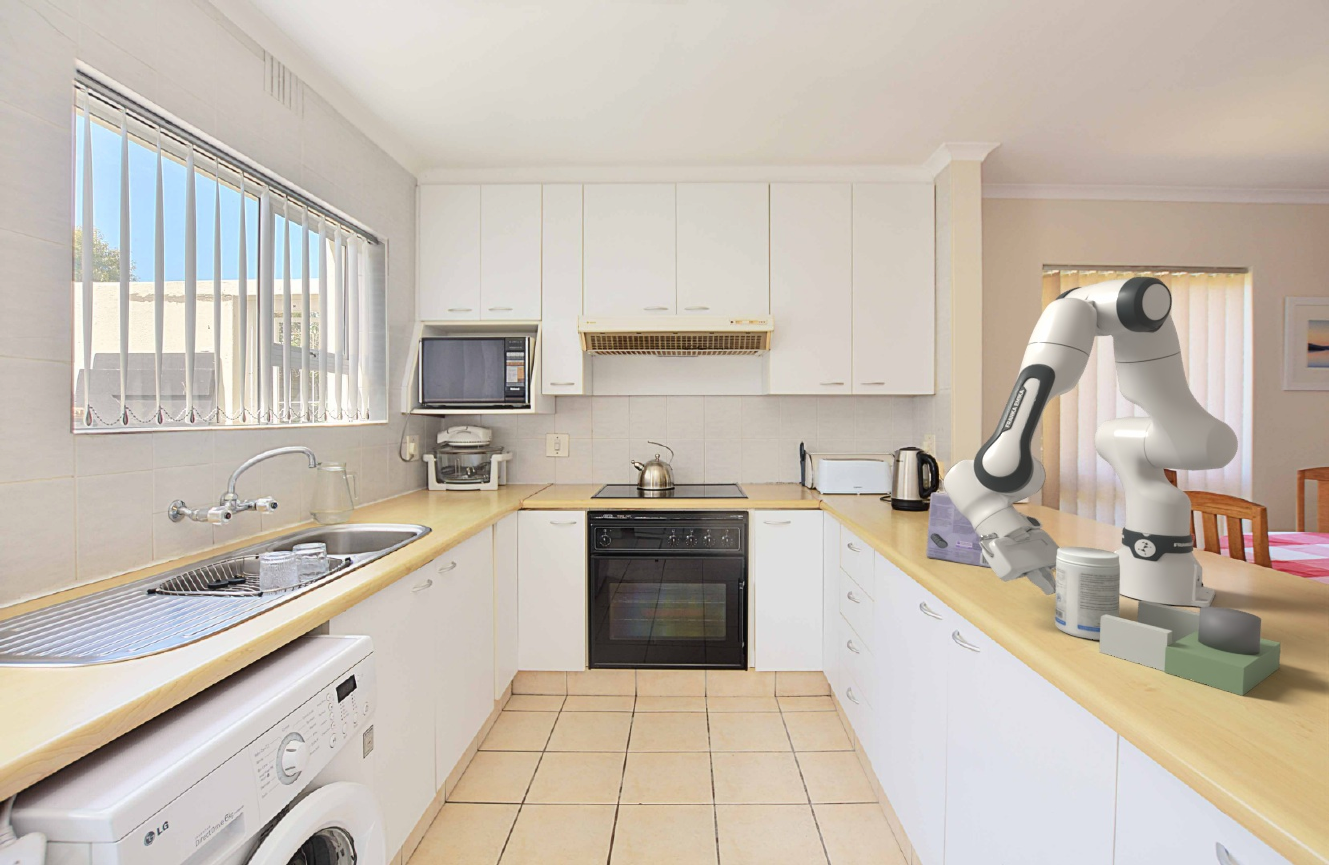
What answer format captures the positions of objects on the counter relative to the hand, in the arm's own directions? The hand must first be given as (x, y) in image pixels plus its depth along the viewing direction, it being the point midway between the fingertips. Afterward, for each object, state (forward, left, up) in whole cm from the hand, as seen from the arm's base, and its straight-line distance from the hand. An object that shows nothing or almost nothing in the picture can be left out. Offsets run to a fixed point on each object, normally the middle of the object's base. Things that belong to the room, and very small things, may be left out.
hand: (1054, 592), depth 116 cm
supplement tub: (0, +5, -6) cm, 8 cm away
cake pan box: (-31, -35, -6) cm, 47 cm away
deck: (0, +20, -6) cm, 21 cm away
